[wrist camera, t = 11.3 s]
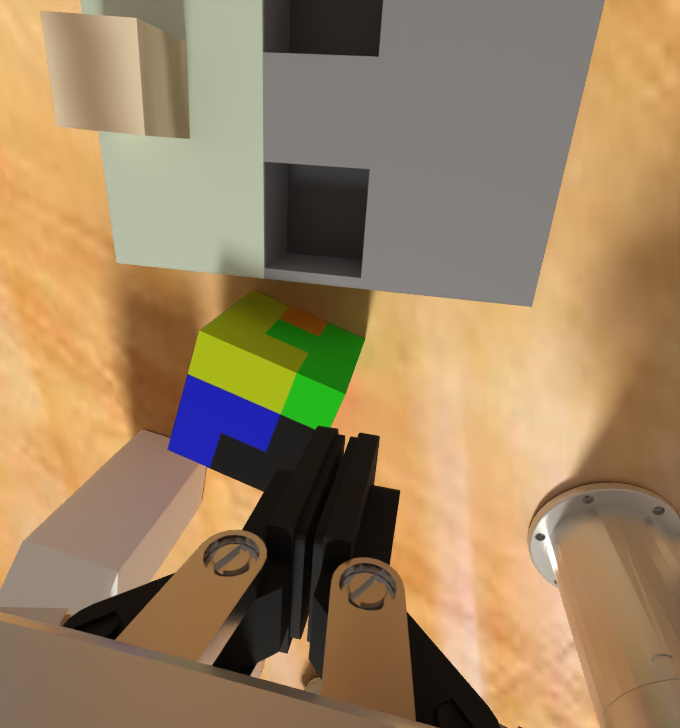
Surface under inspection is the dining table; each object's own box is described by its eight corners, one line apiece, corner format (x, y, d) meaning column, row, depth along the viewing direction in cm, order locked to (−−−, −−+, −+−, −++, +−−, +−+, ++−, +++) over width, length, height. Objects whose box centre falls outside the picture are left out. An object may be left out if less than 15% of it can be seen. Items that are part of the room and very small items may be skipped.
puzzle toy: (222, 388, 43) (167, 449, 34) (253, 289, 38) (199, 330, 29) (323, 431, 43) (294, 505, 34) (365, 338, 38) (345, 394, 29)
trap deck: (592, -68, 26) (634, -126, 21) (515, 283, 34) (531, 306, 29) (130, -69, 30) (64, -118, 25) (160, 248, 38) (116, 262, 33)
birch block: (186, 41, 27) (136, 17, 22) (189, 138, 29) (144, 135, 24) (105, 35, 27) (40, 10, 23) (114, 131, 29) (56, 126, 25)
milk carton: (142, 427, 46) (-28, 587, 29) (210, 449, 46) (78, 624, 29) (138, 482, 49) (-18, 656, 32) (202, 503, 49) (78, 690, 32)
